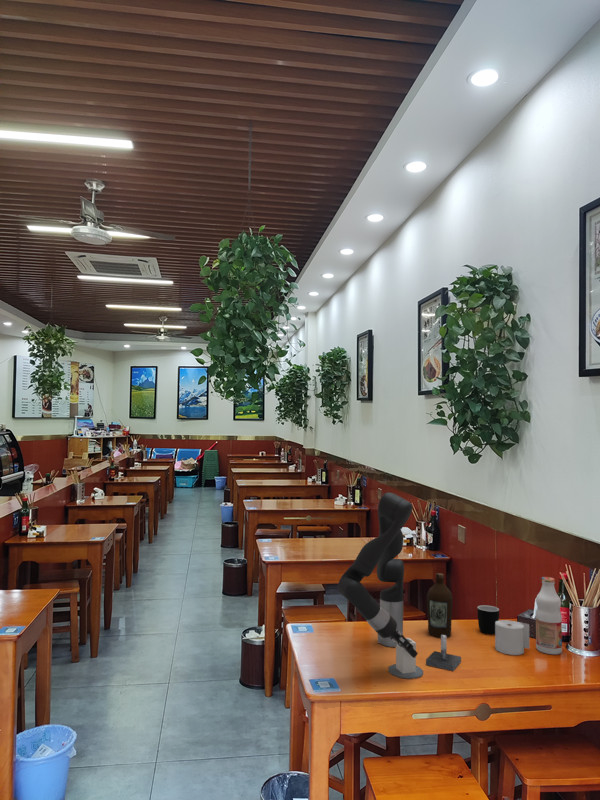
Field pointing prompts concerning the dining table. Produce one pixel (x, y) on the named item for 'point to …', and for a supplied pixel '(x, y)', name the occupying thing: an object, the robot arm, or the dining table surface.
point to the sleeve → (405, 659)
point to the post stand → (443, 657)
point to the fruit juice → (548, 619)
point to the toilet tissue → (511, 637)
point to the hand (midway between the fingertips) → (409, 651)
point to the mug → (487, 618)
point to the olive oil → (439, 608)
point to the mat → (406, 675)
